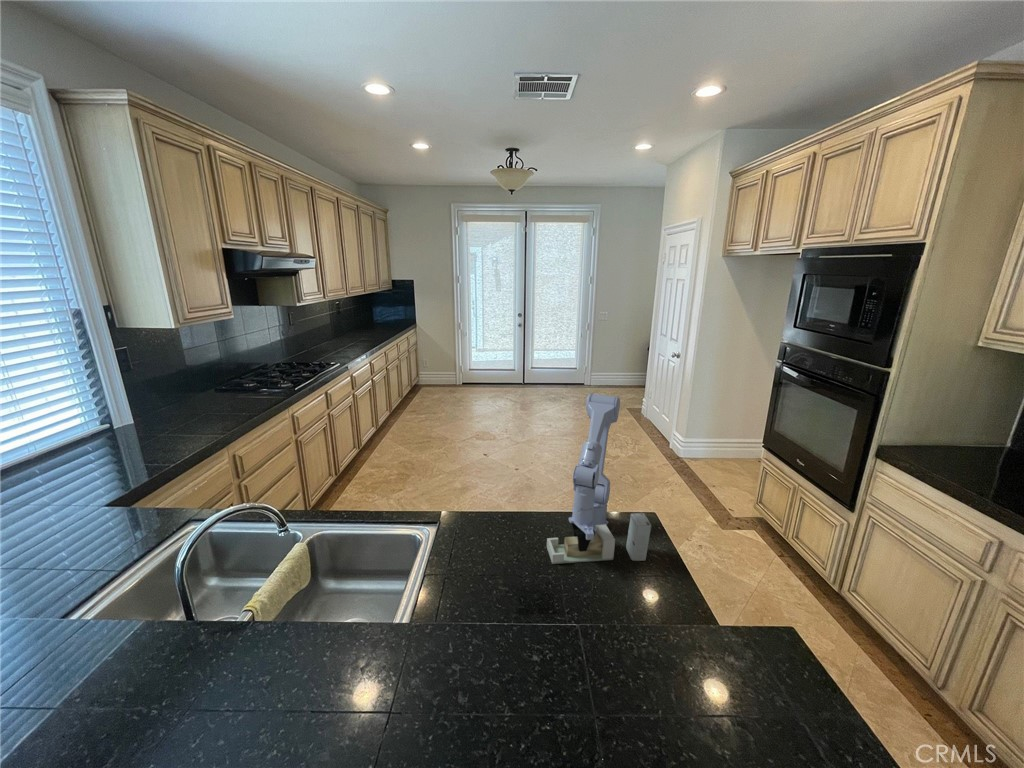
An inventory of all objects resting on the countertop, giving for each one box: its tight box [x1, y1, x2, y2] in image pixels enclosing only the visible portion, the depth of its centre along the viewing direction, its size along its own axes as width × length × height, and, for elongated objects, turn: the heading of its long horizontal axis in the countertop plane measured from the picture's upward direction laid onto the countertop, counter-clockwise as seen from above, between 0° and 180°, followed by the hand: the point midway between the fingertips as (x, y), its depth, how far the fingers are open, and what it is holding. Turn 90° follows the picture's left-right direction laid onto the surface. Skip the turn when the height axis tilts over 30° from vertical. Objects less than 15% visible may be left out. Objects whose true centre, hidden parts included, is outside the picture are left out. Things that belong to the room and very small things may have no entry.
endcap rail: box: [546, 524, 616, 565], centre depth 118 cm, size 18×8×7 cm, turn 98°
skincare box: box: [625, 512, 652, 562], centre depth 117 cm, size 6×4×12 cm
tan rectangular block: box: [564, 535, 603, 557], centre depth 118 cm, size 12×4×4 cm, turn 97°
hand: (580, 546), depth 118 cm, fingers closed on tan rectangular block, 3 cm apart
